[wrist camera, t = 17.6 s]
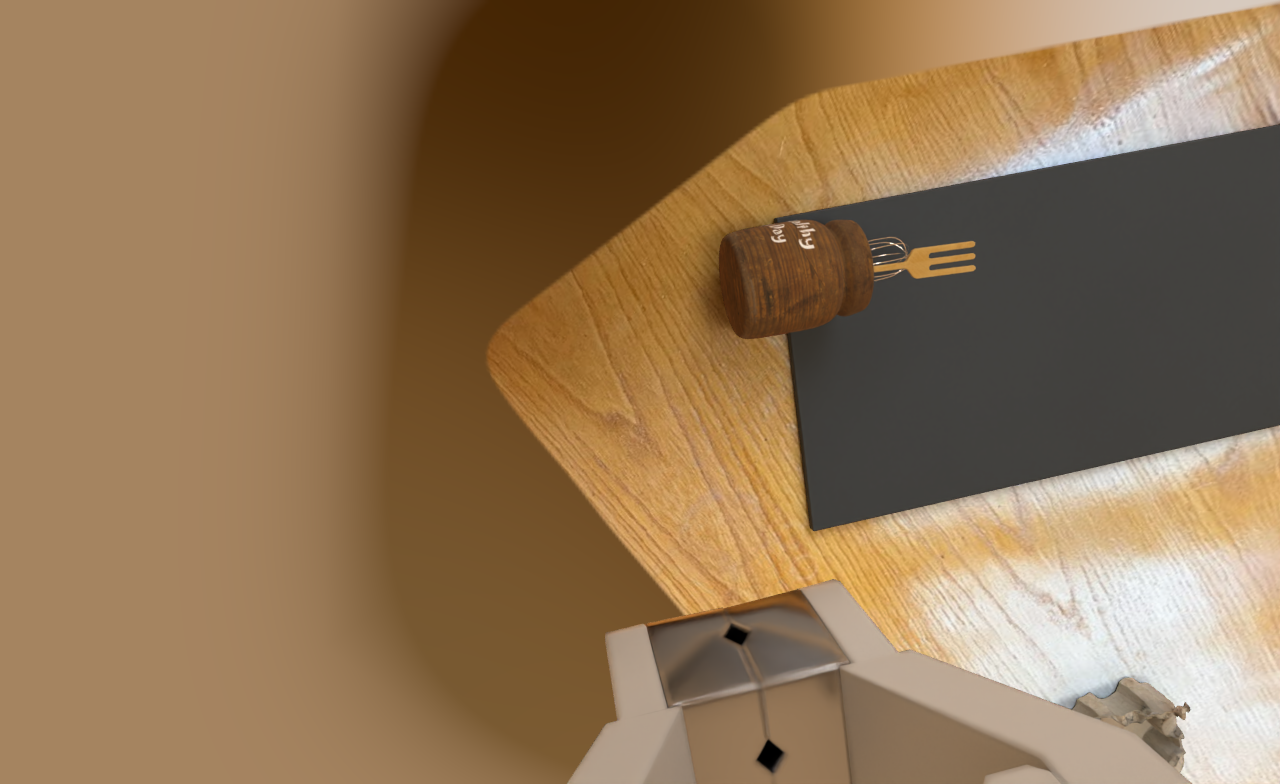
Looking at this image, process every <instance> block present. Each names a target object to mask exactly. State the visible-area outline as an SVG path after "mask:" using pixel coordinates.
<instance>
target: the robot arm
mask: <svg viewBox="0 0 1280 784" xmlns="http://www.w3.org/2000/svg"><path fill="white" fill-rule="evenodd" d="M605 642H606V648H607V655H608V661H609V668H610V674H611V680H612V687H613V694H614V701H615V707H616V714H617V720H618V721H615V722H611V723H607V724H605V726H604V727H603V729H602V730H601V732H600V733H599V735H598V736H597V738H596V740H595V741H594V743H593V744H592V746H591V747H590V749H589V750H588V752H587V753H586V755H585V756H584V758H583V760H582V761H581V763H580V764H579V766H578V767H577V769H576V771H575V772H574V773H573V775H572V777H571V778H570V780H569V781H568V783H567V784H1192V783H1191V782H1190V781H1188V780H1187V779H1186V778H1185V777H1184V776H1183V775H1182V774H1180V773H1179V772H1178V771H1177V770H1176V769H1175V768H1174V767H1172V766H1171V765H1170V764H1169V763H1168V762H1167V761H1166V760H1165V759H1163V758H1162V757H1161V756H1160V755H1159V754H1158V753H1157V752H1155V751H1154V750H1153V749H1152V748H1151V747H1150V746H1149V745H1147V744H1146V743H1145V742H1144V741H1143V740H1142V739H1141V738H1139V737H1138V736H1137V735H1136V734H1135V733H1132V732H1130V731H1127V730H1124V729H1122V728H1119V727H1116V726H1114V725H1111V724H1108V723H1106V722H1103V721H1100V720H1098V719H1095V718H1092V717H1090V716H1087V715H1084V714H1082V713H1079V712H1076V711H1074V710H1071V709H1068V708H1065V707H1063V706H1060V705H1057V704H1055V703H1052V702H1049V701H1047V700H1044V699H1041V698H1039V697H1036V696H1033V695H1031V694H1028V693H1025V692H1023V691H1020V690H1017V689H1015V688H1012V687H1009V686H1007V685H1004V684H1001V683H999V682H996V681H993V680H990V679H988V678H985V677H982V676H980V675H977V674H974V673H972V672H969V671H966V670H964V669H961V668H958V667H956V666H953V665H950V664H948V663H945V662H942V661H940V660H937V659H934V658H932V657H929V656H926V655H924V654H921V653H918V652H916V651H913V650H906V651H901V652H898V651H897V650H896V649H895V647H894V646H893V645H892V644H891V643H890V641H889V640H888V639H887V638H886V637H885V635H884V634H883V633H882V632H881V631H880V629H879V628H878V627H877V626H876V624H875V623H874V622H873V621H872V620H871V618H870V617H869V616H868V615H867V614H866V612H865V611H864V610H863V609H862V608H861V606H860V605H859V604H858V603H857V602H856V600H855V599H854V598H853V597H852V595H851V594H850V593H849V592H848V591H847V589H846V588H845V587H844V586H843V585H842V583H841V582H840V581H837V580H834V579H832V580H829V581H825V582H821V583H818V584H814V585H810V586H807V587H803V588H799V589H797V590H794V591H790V592H786V593H782V594H778V595H774V596H770V597H766V598H762V599H759V600H755V601H751V602H747V603H743V604H739V605H735V606H731V607H727V608H718V609H713V610H708V611H703V612H699V613H694V614H689V615H684V616H680V617H675V618H670V619H665V620H661V621H656V622H651V623H647V624H646V626H645V625H644V624H641V625H636V626H632V627H628V628H625V629H620V630H616V631H612V632H607V633H606V637H605Z"/></svg>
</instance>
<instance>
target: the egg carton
mask: <svg viewBox="0 0 1280 784" xmlns="http://www.w3.org/2000/svg"><path fill="white" fill-rule="evenodd" d="M1073 710H1074V711H1076V712H1079V713H1082V714H1084V715H1087V716H1090V717H1092V718H1095V719H1098V720H1100V721H1103V722H1106V723H1108V724H1111V725H1114V726H1116V727H1119V728H1122V729H1124V730H1127V731H1130V732H1132V733H1135V734H1136V735H1137V736H1138V737H1139V738H1141V739H1142V740H1143V741H1144V742H1145V743H1146V744H1147V745H1149V746H1150V747H1151V748H1152V749H1153V750H1154V751H1155V752H1157V753H1158V754H1159V755H1160V756H1161V757H1162V758H1163V759H1165V760H1166V761H1167V762H1168V763H1169V764H1170V765H1171V766H1172V767H1174V768H1175V769H1176V770H1177V771H1178V772H1179V773H1180V772H1181V770H1182V768H1183V765H1184V757H1183V755H1184V754H1185V753H1186V752H1185V750H1184V749H1183V747H1182V741H1181V739H1184V735H1183V733H1182V731H1181V730H1180V728H1179V727H1178V726H1177V724H1176V716H1177V717H1178V716H1179V717H1180V718H1181V719H1183V720H1185V718H1186V712H1189V711H1190V707H1189V706H1188V705H1187V704H1186V702H1185V703H1184V706H1183V707H1182V706H1177V707H1176V708H1175V706H1174V704H1173V703H1172V702H1171V701H1170V700H1168V699H1167V698H1166V697H1165V696H1164V695H1163V694H1161V693H1160V692H1159V691H1157V690H1156V689H1155V688H1154V687H1152V686H1151V685H1150V684H1149V683H1139V682H1137V681H1136V680H1135V679H1133V678H1124V679H1122V680H1121V681H1120V682H1119V685H1118V687H1117V690H1116V692H1115V693H1113V694H1112V695H1110V696H1109V697H1107V698H1104V699H1100V698H1097V697H1096V696H1094V695H1093V694H1092V693H1088V694H1087V695H1085V696H1083V697H1080V698H1078V700H1077V703H1076V706H1075V707H1074V708H1073Z"/></svg>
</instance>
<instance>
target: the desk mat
mask: <svg viewBox="0 0 1280 784" xmlns="http://www.w3.org/2000/svg"><path fill="white" fill-rule="evenodd" d="M796 220H813V221H817V222H819V223H821V224H823V225H825V224H826V223H828V222H829V221H832V220H852V221H854V222H856V223H857V224H858V225H859V226H860V227H861V228H862V230H863V232H864V233H865V235H866V238H867V240H868V241H870V240H874V239H879V240H874V241H870V242H868V243H869V244H873V245H869V246H870V249H874V248H877V249H874V250H871V253H872V257H873V258H872V259H873V264H874V265H873V266H877V265H885V264H892V263H897V262H898V261H900V260H901V259H900V258H903V257H904V255H905V254H894V253H905V252H907V250H908V246H909V250H908V252H907V253H908V254H907V255H909V254H910V252H911V250H913V249H915V248H923V247H930V246H938V245H946V244H953V243H961V242H969V241H974V242H975V246H974V247H971V248H963V249H956V250H949V251H942V252H934V253H930V254H929V258H938V257H946V256H954V255H962V254H970V253H974V254H975V258H974V259H971V260H964V261H956V262H949V263H942V264H934V265H931V266H930V267H929V270H937V269H945V268H953V267H962V266H970V265H974V266H975V267H976V269H975V270H974V271H971V272H963V273H956V274H949V275H941V276H934V277H926V278H918V279H916V278H913V277H912V276H911V275H910V273H909V272H908V271H907V269H905V270H904V269H902V270H903V271H902V270H901V269H897V270H889V271H882V272H874V280H877V281H874V287H873V293H872V297H871V300H870V303H869V305H868V306H867V307H866V308H865V309H864V310H863V311H861V312H858V313H855V314H853V315H850V316H839V315H836V316H835V317H834V318H833V319H832V320H831V321H829V322H828V323H826V324H824V325H821V326H819V327H815V328H811V329H807V330H802V331H797V332H791V333H787V335H788V343H789V352H790V360H791V368H792V377H793V385H794V394H795V402H796V411H797V419H798V428H799V436H800V445H801V453H802V462H803V470H804V479H805V487H806V496H807V504H808V513H809V521H810V528H811V529H812V530H813V531H817V530H822V529H826V528H831V527H835V526H839V525H844V524H848V523H852V522H857V521H861V520H866V519H870V518H874V517H879V516H883V515H888V514H892V513H896V512H901V511H905V510H910V509H914V508H918V507H923V506H927V505H931V504H936V503H940V502H945V501H949V500H953V499H958V498H962V497H967V496H971V495H975V494H980V493H984V492H989V491H993V490H997V489H1002V488H1006V487H1010V486H1015V485H1019V484H1024V483H1028V482H1032V481H1037V480H1041V479H1046V478H1050V477H1054V476H1059V475H1063V474H1068V473H1072V472H1076V471H1081V470H1085V469H1089V468H1094V467H1098V466H1103V465H1107V464H1111V463H1116V462H1120V461H1125V460H1129V459H1133V458H1138V457H1142V456H1147V455H1151V454H1155V453H1160V452H1164V451H1169V450H1173V449H1177V448H1182V447H1186V446H1190V445H1195V444H1199V443H1204V442H1208V441H1212V440H1217V439H1221V438H1226V437H1230V436H1234V435H1239V434H1243V433H1248V432H1252V431H1256V430H1261V429H1265V428H1269V427H1274V426H1278V425H1280V124H1279V125H1274V126H1269V127H1263V128H1258V129H1252V130H1247V131H1242V132H1236V133H1231V134H1226V135H1220V136H1215V137H1209V138H1204V139H1199V140H1193V141H1188V142H1182V143H1177V144H1172V145H1166V146H1161V147H1156V148H1150V149H1145V150H1139V151H1134V152H1129V153H1123V154H1118V155H1112V156H1107V157H1102V158H1096V159H1091V160H1086V161H1080V162H1075V163H1069V164H1064V165H1059V166H1053V167H1048V168H1042V169H1037V170H1032V171H1026V172H1021V173H1016V174H1010V175H1005V176H999V177H994V178H989V179H983V180H978V181H973V182H967V183H962V184H956V185H951V186H946V187H940V188H935V189H929V190H924V191H919V192H913V193H908V194H903V195H897V196H892V197H886V198H881V199H876V200H870V201H865V202H859V203H854V204H849V205H843V206H838V207H833V208H827V209H822V210H816V211H811V212H806V213H800V214H795V215H789V216H784V217H779V218H775V219H774V224H776V223H782V222H788V221H796ZM886 237H895V238H898V239H900V240H901V241H902V242H903V243H905V244H907V245H908V246H907V245H905V244H904V245H905V247H906V251H905V247H904V245H903V244H898V243H902V242H901V241H900V240H898V239H895V238H886ZM880 238H885V239H880ZM880 242H888V243H880ZM874 243H879V244H874ZM890 243H893V244H896V245H898V246H900V247H901V248H902V249H903V250H904V251H905V252H904V251H903V250H902V249H901V248H900V247H898V246H896V245H892V244H890ZM886 245H891V246H886ZM882 246H885V247H882ZM878 247H881V248H878ZM885 254H891V255H885ZM879 255H884V256H879ZM874 256H878V257H874ZM905 257H906V255H905ZM895 259H899V260H895ZM905 259H907V258H903V259H902V260H901V261H900V262H904V261H905ZM890 260H894V261H890ZM886 261H890V262H886ZM881 262H885V263H881ZM900 262H898V263H900ZM875 263H880V264H875ZM900 270H901V272H899V271H900ZM895 272H899V273H897V274H896V273H895ZM892 273H895V274H896V275H895V274H892ZM888 274H891V275H888ZM883 275H887V276H883ZM892 275H894V276H892ZM875 276H882V277H875ZM889 276H892V277H889ZM886 277H889V278H886ZM882 278H885V279H882ZM878 279H881V280H878Z"/></svg>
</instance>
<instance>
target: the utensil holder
mask: <svg viewBox="0 0 1280 784" xmlns="http://www.w3.org/2000/svg"><path fill="white" fill-rule="evenodd" d="M886 238H895V237H886ZM880 239H885V238H880ZM895 239H898V238H895ZM874 240H879V239H874ZM874 240H870V241H874ZM898 240H900V239H898ZM870 241H868V240H867V238H866V235H865V233H864V232H863V230H862V228H861V227H860V226H859V225H858V224H857V223H856V222H854V221H852V220H832V221H829V222H828V223H826V224H825V225H823V224H821V223H819V222H817V221H813V220H796V221H788V222H782V223H776V224H770V225H764V226H758V227H753V228H747V229H743V230H738V231H735V232H732V233H729V234H728V235H726V236H725V237H724V238H723V240H722V242H721V245H720V251H719V273H720V283H721V290H722V296H723V301H724V305H725V309H726V313H727V316H728V319H729V322H730V324H731V326H732V329H733V330H734V332H735V333H736V334H737V335H738V336H739V337H741V338H744V339H754V338H762V337H769V336H775V335H780V334H786V333H791V332H797V331H802V330H807V329H811V328H815V327H819V326H821V325H824V324H826V323H828V322H829V321H831V320H832V319H833V318H834V317H835V316H836V315H839V316H850V315H853V314H855V313H858V312H861V311H863V310H864V309H865V308H866V307H867V306H868V305H869V303H870V300H871V297H872V293H873V287H874V281H877V280H874V272H882V271H889V270H897V269H901V270H902V269H904V270H905V269H907V271H908V272H909V273H910V275H911V276H912V277H913V278H916V279H918V278H926V277H934V276H941V275H949V274H956V273H963V272H971V271H974V270H975V269H976V267H975V266H974V265H970V266H962V267H953V268H945V269H937V270H929V267H930V266H931V265H934V264H942V263H949V262H956V261H964V260H971V259H974V258H975V254H974V253H970V254H962V255H954V256H946V257H938V258H929V254H930V253H934V252H942V251H949V250H956V249H963V248H971V247H974V246H975V242H974V241H969V242H961V243H953V244H946V245H938V246H930V247H923V248H915V249H913V250H911V252H910V254H909V255H907V254H908V253H907V252H908V250H909V246H908V245H907V244H905V243H903V242H902V241H901V240H900V241H901V242H902V243H898V244H903V245H904V244H905V245H907V246H908V250H907V252H905V251H906V247H905V245H904V247H905V251H904V250H903V249H902V248H901V247H900V246H898V245H896V244H893V243H890V244H892V245H896V246H898V247H900V248H901V249H902V250H903V251H904V252H905V253H894V254H905V255H906V257H905V255H904V257H903V258H907V259H905V261H904V262H900V261H901V260H902V259H903V258H900V259H901V260H900V261H898V262H900V263H898V262H897V263H892V264H885V265H877V266H873V265H874V264H873V259H872V258H873V257H872V253H871V250H874V249H877V248H874V249H870V246H869V245H873V244H869V243H868V242H870ZM880 243H888V242H880ZM874 244H879V243H874ZM886 246H891V245H886ZM882 247H885V246H882ZM878 248H881V247H878ZM885 255H891V254H885ZM879 256H884V255H879ZM874 257H878V256H874ZM895 260H899V259H895ZM890 261H894V260H890ZM890 261H886V262H890ZM881 263H885V262H881ZM875 264H880V263H875ZM901 270H900V271H899V272H901ZM902 271H903V270H902ZM899 272H895V273H896V274H897V273H899ZM895 273H892V274H895ZM896 274H895V275H896ZM888 275H891V274H888ZM883 276H887V275H883ZM892 276H894V275H892ZM892 276H889V277H892ZM875 277H882V276H875ZM889 277H886V278H889ZM882 279H885V278H882ZM878 280H881V279H878Z"/></svg>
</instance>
